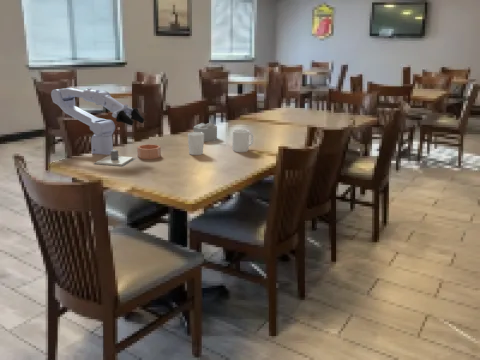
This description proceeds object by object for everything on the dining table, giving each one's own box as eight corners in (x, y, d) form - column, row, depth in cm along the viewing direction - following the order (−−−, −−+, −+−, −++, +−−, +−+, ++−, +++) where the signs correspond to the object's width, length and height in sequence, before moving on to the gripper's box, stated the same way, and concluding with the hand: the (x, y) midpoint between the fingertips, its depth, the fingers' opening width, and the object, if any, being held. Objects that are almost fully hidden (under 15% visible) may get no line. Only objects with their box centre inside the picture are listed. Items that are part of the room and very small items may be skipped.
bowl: (135, 158, 210) (134, 148, 209) (143, 153, 220) (143, 143, 218) (155, 160, 209) (154, 150, 207) (163, 155, 218) (162, 145, 216)
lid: (96, 163, 199) (95, 153, 198) (109, 157, 211) (108, 146, 209) (121, 165, 197) (120, 155, 196) (133, 159, 208) (132, 148, 207)
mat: (93, 165, 199) (92, 164, 199) (108, 157, 212) (108, 156, 212) (122, 167, 196) (122, 166, 196) (136, 159, 209) (136, 158, 209)
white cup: (201, 156, 218) (201, 135, 215) (185, 154, 220) (185, 134, 217) (205, 152, 226) (205, 132, 223) (190, 151, 227) (190, 131, 224)
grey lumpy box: (191, 138, 255) (191, 123, 252) (210, 136, 262) (211, 121, 259) (201, 142, 247) (201, 126, 244) (221, 139, 254) (221, 124, 252)
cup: (229, 149, 232) (229, 130, 229) (248, 147, 238) (248, 128, 235) (238, 153, 225) (238, 133, 222) (257, 150, 232) (258, 130, 229)
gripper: (107, 101, 201) (130, 116, 197) (128, 98, 213) (150, 112, 210) (103, 115, 204) (125, 130, 200) (124, 111, 217) (145, 125, 213)
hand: (138, 122), depth 205 cm, fingers open, 7 cm apart
